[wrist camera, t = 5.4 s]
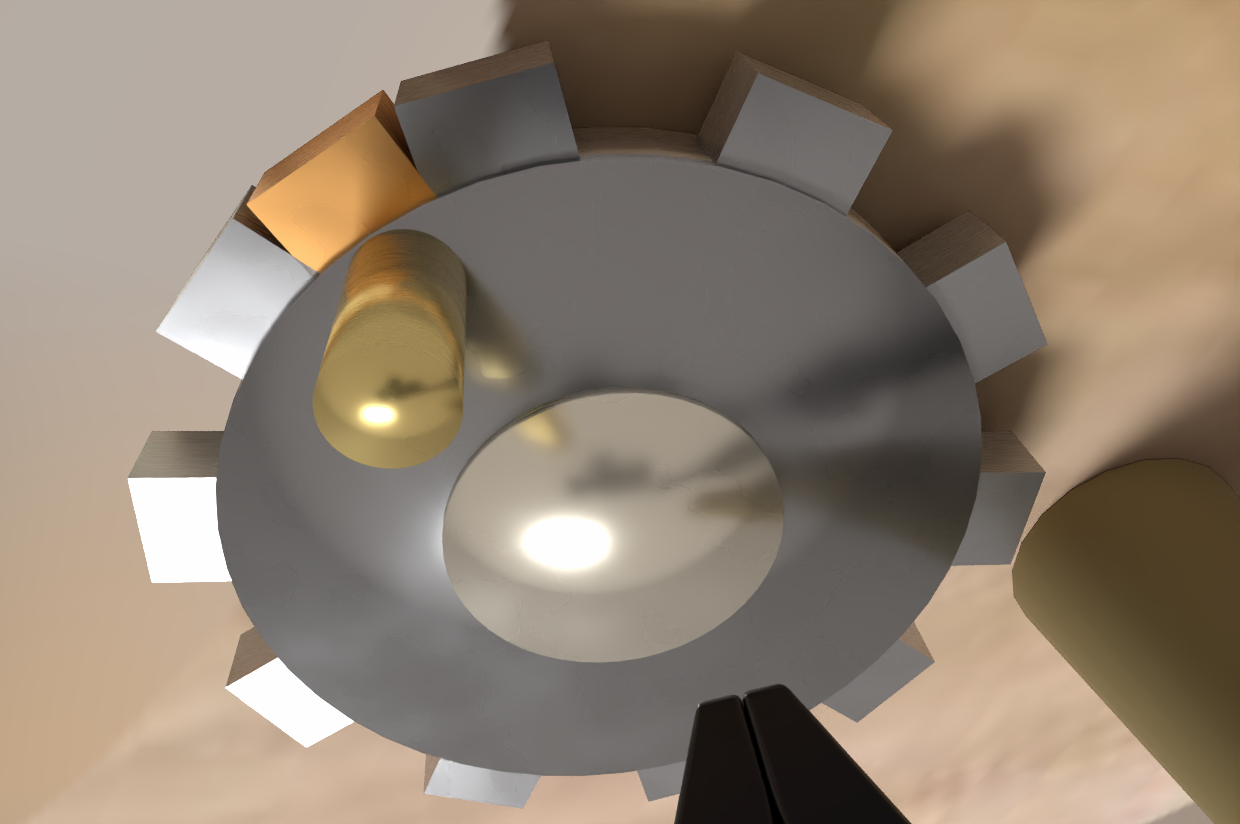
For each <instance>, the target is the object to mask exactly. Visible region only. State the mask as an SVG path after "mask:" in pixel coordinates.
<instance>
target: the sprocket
mask: <svg viewBox="0 0 1240 824" xmlns="http://www.w3.org/2000/svg"><path fill="white" fill-rule="evenodd" d="M892 131H893V130H892V129H891V128H890V127H888V126H887V125H886V124H885V123H883V122H882V121H881V120H880V119H879V118H877V117H876V116H875V115H874V114H872V113H871V112H870V111H869V110H868V109H866V108H865V107H864V106H863V105H861V104H859V103H857V102H854V101H852V100H850V99H847V98H845V97H843V96H840V95H838V94H836V93H833V92H831V91H829V90H826V89H824V88H822V87H819V86H817V85H815V84H812V83H810V82H807V81H805V80H803V79H800V78H798V77H796V76H793V75H791V74H789V73H786V72H784V71H782V70H779V69H777V68H775V67H772V66H770V65H768V64H765V63H763V62H761V61H758V60H756V59H754V58H751V57H749V56H747V55H744V54H742V53H740V52H737V51H736V52H735V55H734V57H733V59H732V61H731V63H730V66H729V68H728V70H727V72H726V75H725V77H724V79H723V81H722V84H721V86H720V88H719V90H718V93H717V95H716V97H715V99H714V101H713V104H712V106H711V108H710V110H709V113H708V115H707V117H706V119H705V122H704V124H703V126H702V128H701V130H700V133H699V135H698V134H691V133H684V132H676V131H669V130H662V129H655V128H648V127H585V128H577V129H572V127H571V123H570V120H569V116H568V112H567V108H566V105H565V101H564V97H563V93H562V90H561V86H560V82H559V78H558V75H557V71H556V67H555V63H554V60H553V56H552V52H551V49H550V45H549V41H548V40H547V41H543V42H540V43H536V44H532V45H529V46H525V47H522V48H518V49H515V50H511V51H507V52H504V53H500V54H497V55H493V56H489V57H486V58H482V59H479V60H475V61H472V62H468V63H464V64H461V65H457V66H454V67H450V68H446V69H443V70H439V71H436V72H432V73H428V74H425V75H421V76H418V77H414V78H410V79H407V80H403V81H401V83H400V87H399V90H398V94H397V97H396V101H395V105H394V103H393V102H392V101H391V100H390V98H389V97H388V96H387V94H386V93H385V92H384V90H382V91H381V92H379V93H377V94H376V95H375V96H373V97H372V98H370V99H369V100H368V101H366V102H365V103H363V104H362V105H360V106H359V107H358V108H356V109H355V110H353V111H352V112H350V113H349V114H348V115H346V116H345V117H343V118H342V119H340V120H339V121H337V122H336V123H335V124H333V125H332V126H330V127H329V128H327V129H326V130H325V131H323V132H322V133H320V134H319V135H318V136H316V137H315V138H313V139H312V140H310V141H309V142H307V143H306V144H304V145H303V146H302V147H300V148H299V149H297V150H296V151H294V152H293V153H292V154H291V155H289V156H287V157H286V158H284V159H283V160H282V161H280V162H279V163H277V164H276V165H275V166H273V167H272V168H270V169H269V170H267V171H266V172H265V173H264V175H263V176H262V178H261V180H260V182H259V183H258V185H257V187H254V186H253V185H252V186H251V188H250V189H249V191H248V192H247V194H246V195H245V196H244V198H243V199H242V201H241V202H240V204H239V205H238V207H237V208H236V210H235V211H234V213H233V214H232V216H231V217H230V218H229V220H228V221H227V223H226V225H225V226H224V227H223V229H222V230H221V232H220V233H219V235H218V236H217V238H216V239H215V241H214V242H213V244H212V245H211V247H210V248H209V250H208V251H207V253H206V254H205V255H204V257H203V259H202V260H201V261H200V263H199V264H198V266H197V268H196V269H195V270H194V272H193V273H192V275H191V276H190V278H189V279H188V281H187V282H186V284H185V285H184V287H183V288H182V290H181V291H180V293H179V294H178V296H177V297H176V299H175V301H174V302H173V304H172V306H171V307H170V309H169V311H168V312H167V314H166V316H165V317H164V319H163V321H162V322H161V324H160V326H159V327H158V329H157V331H156V332H157V333H159V334H161V335H163V336H165V337H166V338H168V339H170V340H172V341H174V342H175V343H177V344H179V345H181V346H183V347H185V348H186V349H188V350H190V351H192V352H193V353H195V354H197V355H199V356H201V357H202V358H204V359H206V360H208V361H209V362H211V363H213V364H215V365H217V366H218V367H220V368H222V369H224V370H226V371H227V372H229V373H231V374H233V375H235V376H236V377H238V378H240V379H242V380H241V383H240V385H239V388H238V390H237V393H236V395H235V397H234V400H233V403H232V407H231V410H230V413H229V417H228V420H227V424H226V427H225V430H224V431H152V432H151V434H150V436H149V438H148V440H147V442H146V444H145V446H144V448H143V450H142V452H141V454H140V455H139V458H138V459H137V461H136V463H135V465H134V467H133V469H132V471H131V473H130V475H129V477H128V482H129V486H130V490H131V495H132V498H133V503H134V507H135V511H136V515H137V520H138V524H139V529H140V533H141V537H142V541H143V545H144V550H145V554H146V558H147V562H148V567H149V571H150V576H151V580H152V582H153V583H154V582H197V581H198V582H201V581H232V583H233V585H234V588H235V590H236V593H237V595H238V597H239V600H240V602H241V605H242V607H243V608H244V610H245V612H246V613H247V615H248V617H249V618H250V620H251V621H252V623H253V625H254V626H255V627H253V628H252V629H250V630H248V631H247V632H245V633H243V634H241V636H240V639H239V643H238V646H237V650H236V653H235V657H234V660H233V664H232V667H231V671H230V674H229V678H228V681H227V685H226V688H227V689H228V690H229V691H231V692H232V693H233V694H235V695H236V696H237V697H239V698H240V699H241V700H243V701H244V702H246V703H247V704H248V705H250V706H251V707H252V708H254V709H255V710H256V711H258V712H259V713H260V714H262V715H263V716H264V717H266V718H267V719H268V720H270V721H271V722H272V723H274V724H275V725H276V726H278V727H279V728H281V729H282V730H283V731H285V732H286V733H287V734H289V735H290V736H291V737H293V738H294V739H295V740H297V741H298V742H299V743H301V744H302V745H303V746H305V747H306V748H307V747H308V746H310V745H312V744H314V743H316V742H318V741H319V740H321V739H323V738H325V737H327V736H329V735H330V734H332V733H334V732H336V731H338V730H340V729H341V728H343V727H345V726H347V725H349V724H351V723H352V722H354V721H355V722H357V723H358V724H360V725H362V726H364V727H366V728H368V729H370V730H372V731H373V732H375V733H377V734H379V735H381V736H383V737H385V738H387V739H389V740H392V741H394V742H397V743H399V744H402V745H404V746H407V747H409V748H412V749H414V750H417V751H419V752H422V753H425V754H426V765H425V782H424V794H428V795H435V796H442V797H448V798H455V799H462V800H469V801H475V802H482V803H489V804H495V805H502V806H509V807H516V808H522V809H523V807H524V806H525V804H526V802H527V800H528V798H529V796H530V795H531V793H532V791H533V789H534V787H535V785H536V784H537V782H538V780H539V778H540V776H541V775H542V776H587V775H600V774H613V773H624V772H631V771H638V774H639V777H640V779H641V782H642V785H643V788H644V790H645V793H646V796H647V799H648V801H653V800H657V799H660V798H664V797H668V796H672V795H676V794H680V790H681V785H682V780H683V774H684V769H685V764H686V758H687V753H688V748H689V742H690V737H691V732H692V726H693V721H694V716H695V711H696V708H697V706H698V705H699V704H700V703H701V702H703V701H706V700H711V699H715V698H719V697H723V696H727V695H731V694H732V695H737V696H739V697H740V698H741V700H742V697H743V694H744V693H745V692H747V691H748V690H752V689H756V688H761V687H765V686H769V685H773V684H783V685H785V686H786V687H788V688H789V689H790V690H791V691H792V692H793V693H794V694H795V696H796V697H797V698H798V699H799V700H800V701H801V702H802V703H803V704H804V705H805V707H806V708H807V709H808V710H810V709H812V708H814V707H815V706H817V705H818V704H820V703H823V704H825V705H827V706H828V707H830V708H832V709H834V710H836V711H837V712H839V713H841V714H843V715H845V716H846V717H848V718H850V719H852V720H854V721H855V722H859V721H860V720H861V719H863V718H864V717H865V716H866V715H868V714H869V713H870V712H871V711H873V710H874V709H875V708H877V707H878V706H879V705H880V704H882V703H883V702H884V701H885V700H887V699H888V698H889V697H891V696H892V695H893V694H894V693H896V692H897V691H898V690H900V689H901V688H902V687H903V686H905V685H906V684H907V683H908V682H910V681H911V680H912V679H914V678H915V677H916V676H917V675H919V674H920V673H921V672H923V671H924V670H925V669H926V668H928V667H929V666H930V665H931V664H933V663H934V662H935V661H934V660H933V658H932V656H931V654H930V652H929V650H928V648H927V646H926V644H925V642H924V640H923V638H922V637H921V635H920V633H919V631H918V629H917V627H916V625H915V623H914V620H915V619H916V618H917V616H918V615H919V614H920V613H921V611H922V610H923V609H924V608H925V606H926V605H927V604H928V603H929V601H930V600H931V598H932V596H933V595H934V593H935V591H936V590H937V588H938V587H939V585H940V583H941V582H942V580H943V579H944V577H945V575H946V574H947V572H948V570H949V569H950V567H951V566H954V565H1001V564H1011V561H1012V559H1013V556H1014V554H1015V551H1016V548H1017V546H1018V543H1019V541H1020V538H1021V535H1022V533H1023V530H1024V528H1025V525H1026V522H1027V520H1028V517H1029V515H1030V512H1031V509H1032V507H1033V504H1034V502H1035V499H1036V496H1037V494H1038V491H1039V489H1040V486H1041V483H1042V481H1043V478H1044V476H1045V473H1046V472H1045V471H1044V470H1043V468H1042V467H1041V466H1040V465H1039V464H1038V462H1037V461H1036V460H1035V459H1034V458H1033V456H1032V455H1031V454H1030V453H1029V452H1028V450H1027V449H1026V448H1025V447H1024V446H1023V444H1022V443H1021V442H1020V441H1019V440H1018V438H1017V437H1016V436H1015V435H1014V433H1013V432H1012V431H981V415H980V409H979V404H978V398H977V393H976V387H975V383H977V382H979V381H981V380H983V379H984V378H986V377H988V376H990V375H992V374H994V373H995V372H997V371H999V370H1001V369H1003V368H1005V367H1006V366H1008V365H1010V364H1012V363H1014V362H1016V361H1017V360H1019V359H1021V358H1023V357H1025V356H1027V355H1028V354H1030V353H1032V352H1034V351H1036V350H1038V349H1039V348H1041V347H1043V346H1045V345H1047V342H1046V339H1045V337H1044V334H1043V332H1042V329H1041V327H1040V324H1039V322H1038V319H1037V317H1036V314H1035V312H1034V309H1033V307H1032V305H1031V302H1030V300H1029V297H1028V295H1027V292H1026V290H1025V287H1024V285H1023V282H1022V280H1021V277H1020V275H1019V272H1018V270H1017V267H1016V265H1015V262H1014V260H1013V257H1012V255H1011V252H1010V250H1009V248H1008V245H1007V243H1006V241H1005V240H1004V239H1002V238H1001V237H1000V236H999V235H998V234H997V233H995V232H994V231H993V230H992V229H991V228H990V227H988V226H987V225H986V224H985V223H984V222H983V221H981V220H980V219H979V218H978V217H977V216H976V215H974V214H973V213H972V212H971V211H970V210H969V211H967V212H965V213H964V214H962V215H960V216H958V217H957V218H955V219H953V220H952V221H950V222H948V223H946V224H945V225H943V226H941V227H940V228H938V229H936V230H934V231H933V232H931V233H929V234H928V235H926V236H924V237H922V238H921V239H919V240H917V241H916V242H914V243H912V244H910V245H909V246H907V247H905V248H904V249H902V250H900V251H898V252H897V253H896V252H895V251H894V250H893V249H892V248H891V247H890V246H889V245H888V243H887V242H886V241H885V240H884V239H883V238H882V237H881V236H880V235H879V233H878V232H877V231H876V230H875V229H874V228H873V227H872V226H871V225H870V224H869V223H868V222H867V221H866V220H864V219H863V218H862V217H861V216H860V215H859V214H858V213H857V212H855V211H854V210H853V209H852V208H851V206H852V204H853V202H854V200H855V199H856V197H857V195H858V193H859V191H860V189H861V188H862V186H863V184H864V182H865V180H866V178H867V177H868V175H869V173H870V171H871V169H872V167H873V166H874V164H875V162H876V160H877V158H878V156H879V155H880V153H881V151H882V149H883V147H884V145H885V144H886V142H887V140H888V138H889V136H890V134H891V133H892ZM742 703H743V702H742Z"/></svg>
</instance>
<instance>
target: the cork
mask: <svg viewBox="0 0 1240 824" xmlns="http://www.w3.org/2000/svg"><path fill="white" fill-rule="evenodd" d="M1012 577H1013V590H1014V597H1015V599H1016V601H1017V602H1018V604H1019V605H1020V607H1021V609H1022V610H1023V612H1024V614H1025V615H1026V617H1027V618H1028V619H1029V620H1030V621H1031V622H1032V623H1033V624H1034V625H1035V627H1036V628H1037V629H1038V630H1039V631H1040V632H1041V633H1042V634H1043V635H1044V636H1045V638H1046V639H1047V640H1048V641H1049V642H1050V643H1051V644H1052V645H1053V646H1054V647H1055V649H1056V650H1057V651H1058V652H1059V653H1060V654H1061V655H1062V656H1063V657H1064V659H1065V660H1066V661H1067V662H1068V663H1069V664H1070V665H1071V666H1072V667H1073V668H1074V670H1075V671H1076V672H1077V673H1078V674H1079V675H1080V676H1081V677H1082V678H1083V679H1084V681H1085V682H1086V683H1087V684H1088V685H1089V686H1090V687H1091V688H1092V689H1093V690H1094V692H1095V693H1096V694H1097V695H1098V696H1099V697H1100V698H1101V699H1102V700H1103V702H1104V703H1105V704H1106V705H1107V706H1108V707H1109V708H1110V709H1111V710H1112V711H1113V713H1114V714H1115V715H1116V716H1117V717H1118V718H1119V719H1120V720H1121V721H1122V722H1123V724H1124V725H1125V726H1126V727H1127V728H1128V729H1129V730H1130V731H1131V732H1132V733H1133V735H1134V736H1135V737H1136V738H1137V739H1138V740H1139V741H1140V742H1141V743H1142V744H1143V746H1144V747H1145V748H1146V749H1147V750H1148V751H1149V752H1150V753H1151V754H1152V756H1153V757H1154V758H1155V759H1156V760H1157V761H1158V762H1159V763H1160V764H1161V765H1162V767H1163V768H1164V769H1165V770H1166V771H1167V772H1168V773H1169V774H1170V775H1171V776H1172V778H1173V779H1174V780H1175V781H1176V782H1177V783H1178V784H1179V785H1180V786H1181V787H1182V789H1183V790H1184V791H1185V792H1186V793H1187V794H1188V795H1189V796H1190V797H1191V798H1192V800H1193V801H1194V802H1195V803H1196V804H1197V805H1198V806H1199V807H1200V808H1201V810H1202V811H1203V812H1204V813H1205V814H1206V815H1207V816H1208V817H1209V818H1210V819H1211V820H1212V822H1213V823H1214V824H1240V498H1239V496H1238V495H1237V494H1236V493H1235V491H1234V490H1233V489H1232V488H1231V486H1230V485H1229V484H1228V483H1227V482H1226V481H1225V480H1224V479H1223V478H1221V477H1220V476H1219V475H1218V474H1217V473H1215V472H1214V471H1213V470H1212V469H1211V468H1209V467H1208V466H1204V465H1201V464H1197V463H1194V462H1190V461H1186V460H1183V459H1156V460H1142V461H1139V462H1135V463H1132V464H1129V465H1125V466H1122V467H1119V468H1115V469H1112V470H1108V471H1106V472H1104V473H1102V474H1100V475H1098V476H1096V477H1095V478H1093V479H1091V480H1089V481H1087V482H1085V483H1084V484H1082V485H1080V486H1078V487H1076V488H1074V489H1073V490H1071V491H1070V492H1068V493H1067V494H1066V495H1065V496H1064V497H1063V498H1062V499H1060V500H1059V501H1058V502H1057V503H1056V504H1055V505H1053V506H1052V507H1051V508H1050V509H1049V510H1048V511H1046V512H1045V513H1044V514H1043V515H1042V516H1041V517H1040V519H1039V520H1038V521H1037V523H1036V524H1035V526H1034V527H1033V528H1032V530H1031V531H1030V533H1029V534H1028V535H1027V537H1026V538H1025V540H1024V541H1023V542H1022V544H1021V547H1020V550H1019V553H1018V556H1017V559H1016V562H1015V565H1014V568H1013V571H1012Z"/></svg>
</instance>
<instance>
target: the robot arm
mask: <svg viewBox="0 0 1240 824" xmlns="http://www.w3.org/2000/svg"><path fill="white" fill-rule="evenodd" d="M742 702H743V703H742ZM674 824H911V823H910V822H909V820H908V819H907V818H906V817H905V816H904V815H903V814H902V813H901V812H900V810H899V809H898V808H897V807H896V806H895V805H894V804H893V803H892V802H891V801H890V799H889V798H888V797H887V796H886V795H885V794H884V793H883V792H882V791H881V789H880V788H879V787H878V786H877V785H876V784H875V783H874V782H873V781H872V780H871V778H870V777H869V776H868V775H867V774H866V773H865V772H864V771H863V770H862V768H861V767H860V766H859V765H858V764H857V763H856V762H855V761H854V760H853V759H852V757H851V756H850V755H849V754H848V753H847V752H846V751H845V750H844V749H843V747H842V746H841V745H840V744H839V743H838V742H837V741H836V740H835V739H834V738H833V736H832V735H831V734H830V733H829V732H828V731H827V730H826V729H825V728H824V726H823V725H822V724H821V723H820V722H819V721H818V720H817V719H816V718H815V717H814V715H813V714H812V713H811V712H810V711H809V710H808V709H807V708H806V707H805V705H804V704H803V703H802V702H801V701H800V700H799V699H798V698H797V697H796V696H795V694H794V693H793V692H792V691H791V690H790V689H789V688H788V687H786V686H785V685H783V684H773V685H769V686H765V687H761V688H756V689H752V690H748V691H747V692H745V693H744V694H743V697H742V700H741V698H740V697H739V696H737V695H732V694H731V695H727V696H723V697H719V698H715V699H711V700H706V701H703V702H701V703H700V704H699V705H698V706H697V708H696V711H695V716H694V721H693V726H692V732H691V737H690V742H689V748H688V753H687V758H686V764H685V769H684V774H683V780H682V785H681V790H680V796H679V801H678V806H677V812H676V817H675V822H674Z"/></svg>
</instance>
